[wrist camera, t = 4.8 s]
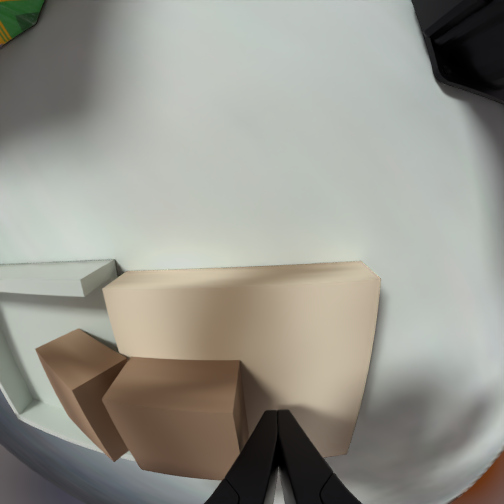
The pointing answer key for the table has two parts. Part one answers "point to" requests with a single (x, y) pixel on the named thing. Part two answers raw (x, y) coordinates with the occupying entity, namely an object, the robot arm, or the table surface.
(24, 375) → the tray
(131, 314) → the beige square slab
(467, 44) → the robot arm
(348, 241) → the table surface
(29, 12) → the chalk box
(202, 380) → the tile
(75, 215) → the table surface
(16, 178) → the table surface
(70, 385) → the tile
